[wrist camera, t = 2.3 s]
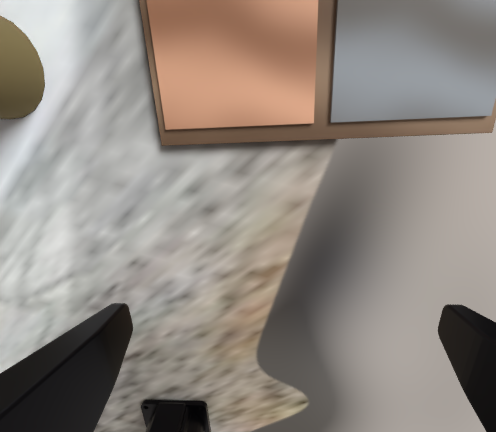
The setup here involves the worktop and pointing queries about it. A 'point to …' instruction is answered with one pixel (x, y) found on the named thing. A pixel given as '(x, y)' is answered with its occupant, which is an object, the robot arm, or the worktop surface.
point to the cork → (18, 73)
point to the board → (320, 68)
